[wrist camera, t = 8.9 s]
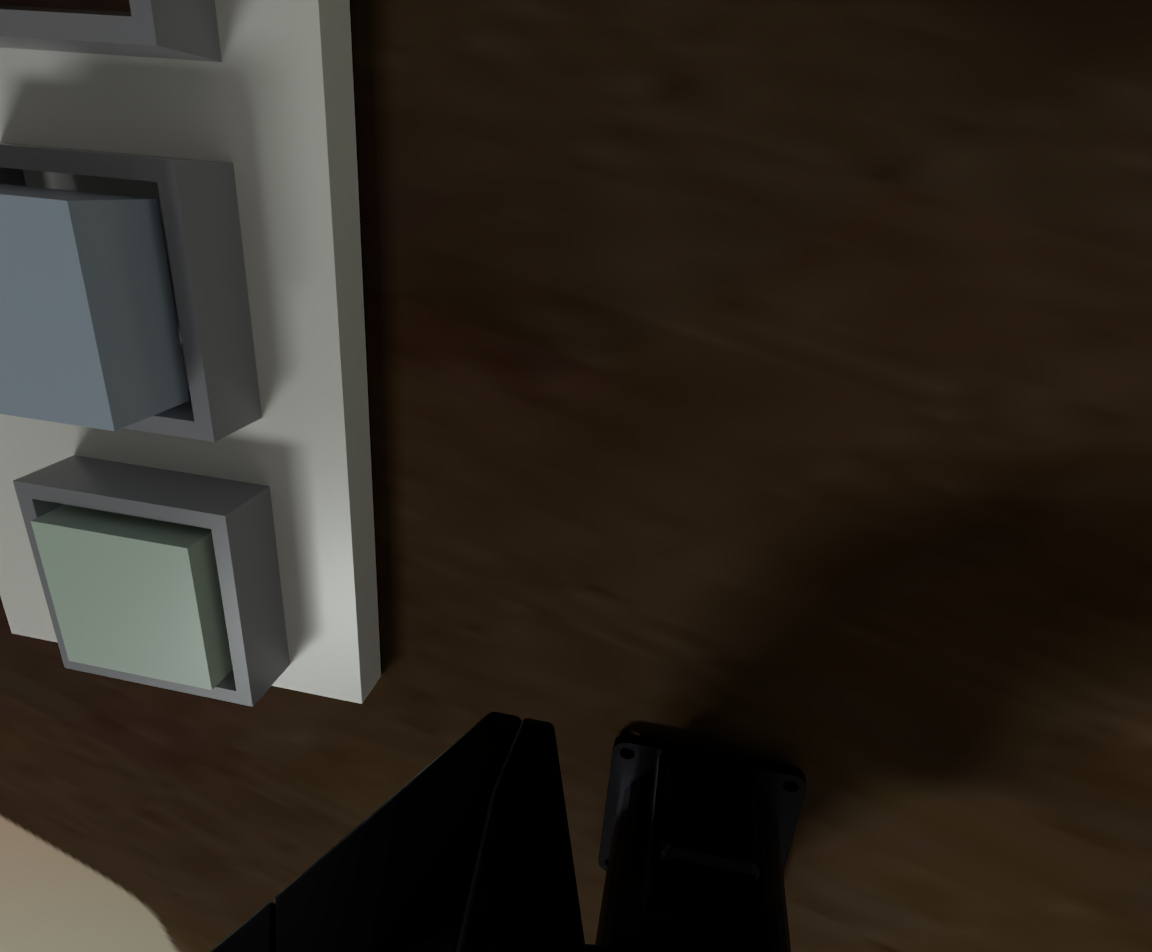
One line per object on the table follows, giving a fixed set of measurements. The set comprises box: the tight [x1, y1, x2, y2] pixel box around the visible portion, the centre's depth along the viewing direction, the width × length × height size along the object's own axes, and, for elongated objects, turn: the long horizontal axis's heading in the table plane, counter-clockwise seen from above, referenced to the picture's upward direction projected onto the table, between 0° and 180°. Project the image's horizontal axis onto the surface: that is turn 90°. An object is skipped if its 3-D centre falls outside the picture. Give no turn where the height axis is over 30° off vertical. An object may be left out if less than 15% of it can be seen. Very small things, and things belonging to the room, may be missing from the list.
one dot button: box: [31, 504, 233, 690], centre depth 21 cm, size 5×5×2 cm
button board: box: [0, 0, 381, 707], centre depth 19 cm, size 27×14×4 cm, turn 175°
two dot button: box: [0, 184, 189, 431], centre depth 16 cm, size 5×5×2 cm
